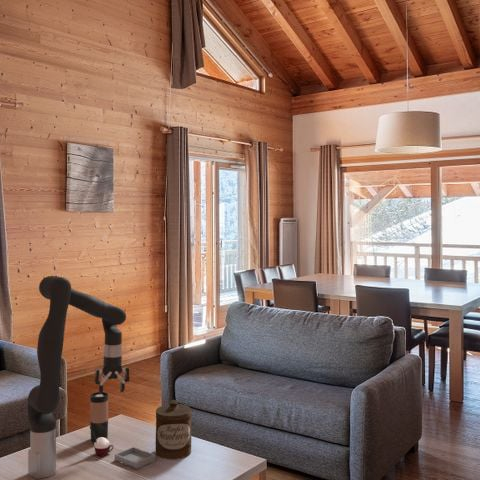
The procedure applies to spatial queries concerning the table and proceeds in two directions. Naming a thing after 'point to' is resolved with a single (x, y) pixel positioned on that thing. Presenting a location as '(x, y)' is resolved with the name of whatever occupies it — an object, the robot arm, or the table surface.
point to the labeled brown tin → (173, 431)
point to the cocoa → (101, 445)
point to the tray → (135, 457)
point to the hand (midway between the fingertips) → (111, 392)
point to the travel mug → (99, 415)
